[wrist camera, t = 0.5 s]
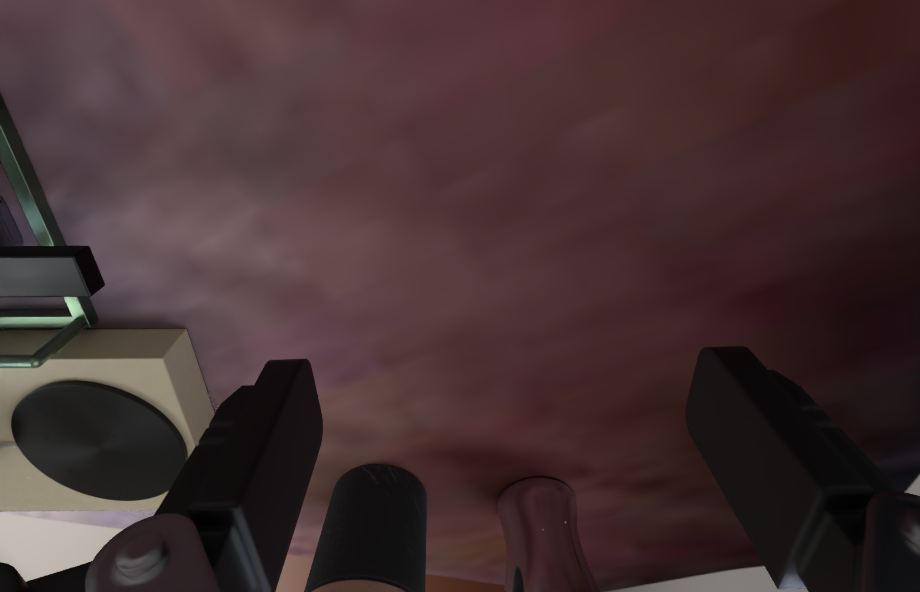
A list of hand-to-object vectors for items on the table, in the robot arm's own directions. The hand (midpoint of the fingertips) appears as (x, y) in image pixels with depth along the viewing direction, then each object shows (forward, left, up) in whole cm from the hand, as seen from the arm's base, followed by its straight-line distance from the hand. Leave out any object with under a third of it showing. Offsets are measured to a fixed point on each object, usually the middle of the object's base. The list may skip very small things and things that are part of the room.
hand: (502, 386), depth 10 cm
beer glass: (+27, +5, -18) cm, 32 cm away
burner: (+17, -23, -14) cm, 32 cm away
